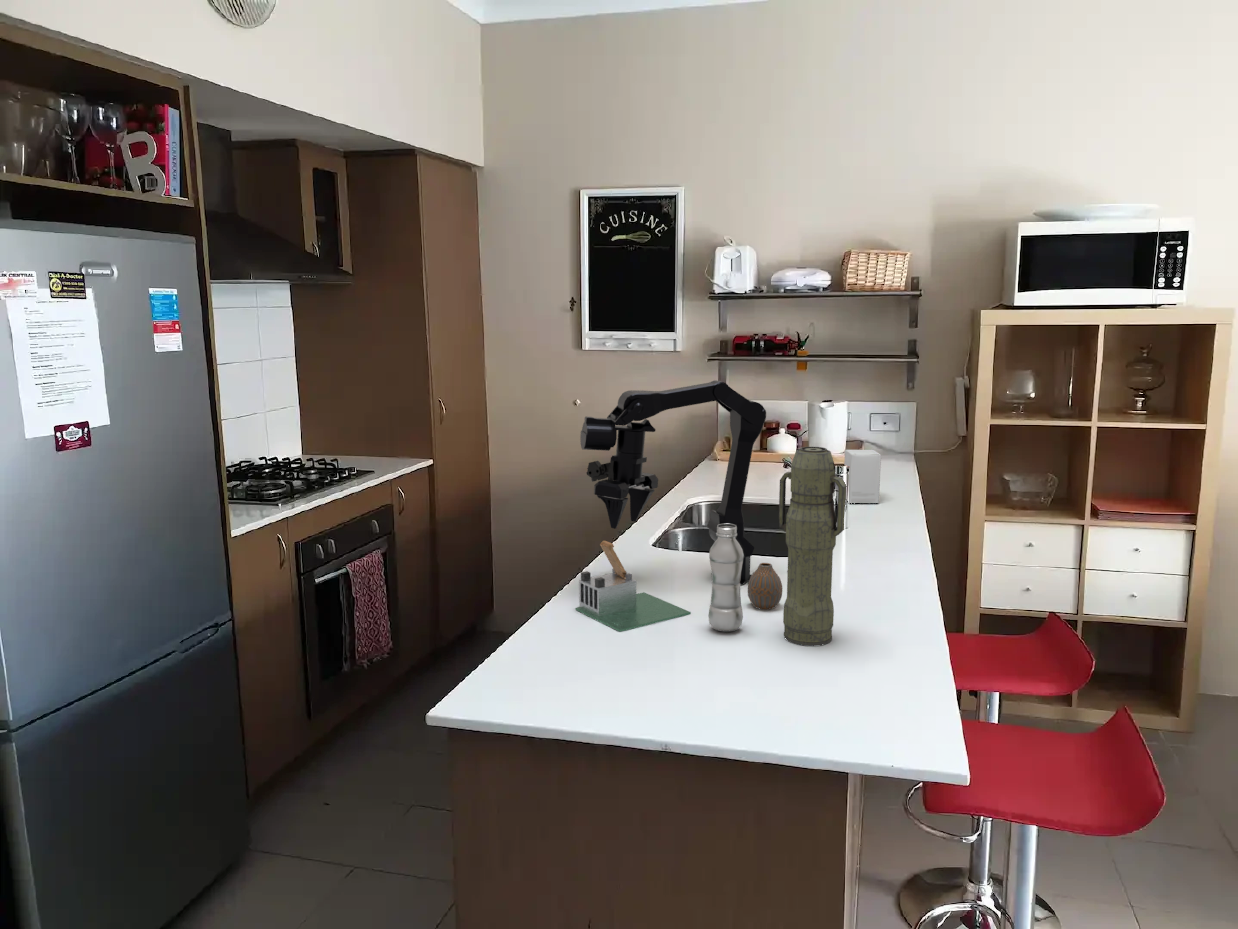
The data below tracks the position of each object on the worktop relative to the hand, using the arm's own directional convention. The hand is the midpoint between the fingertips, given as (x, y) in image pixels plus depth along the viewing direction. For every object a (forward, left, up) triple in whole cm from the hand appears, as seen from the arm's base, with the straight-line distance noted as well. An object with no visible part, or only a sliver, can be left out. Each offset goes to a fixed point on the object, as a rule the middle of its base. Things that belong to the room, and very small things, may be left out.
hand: (623, 524), depth 203 cm
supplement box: (-24, -106, -14) cm, 110 cm away
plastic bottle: (-29, +14, -14) cm, 35 cm away
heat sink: (-9, +13, -14) cm, 21 cm away
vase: (-31, -2, -14) cm, 34 cm away
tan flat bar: (-4, +12, -4) cm, 14 cm away
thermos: (-44, +11, -14) cm, 47 cm away
